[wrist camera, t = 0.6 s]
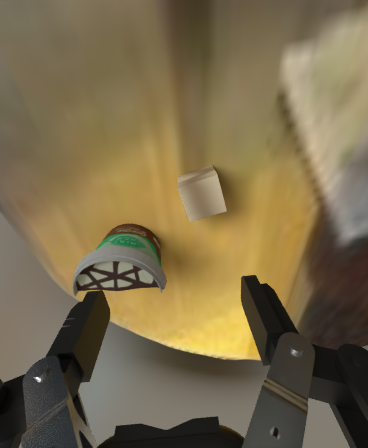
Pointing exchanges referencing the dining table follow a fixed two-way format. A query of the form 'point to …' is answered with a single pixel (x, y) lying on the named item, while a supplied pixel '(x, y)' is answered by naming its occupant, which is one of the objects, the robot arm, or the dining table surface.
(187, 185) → the beige cube
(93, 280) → the food container
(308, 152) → the dining table surface
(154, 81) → the dining table surface
